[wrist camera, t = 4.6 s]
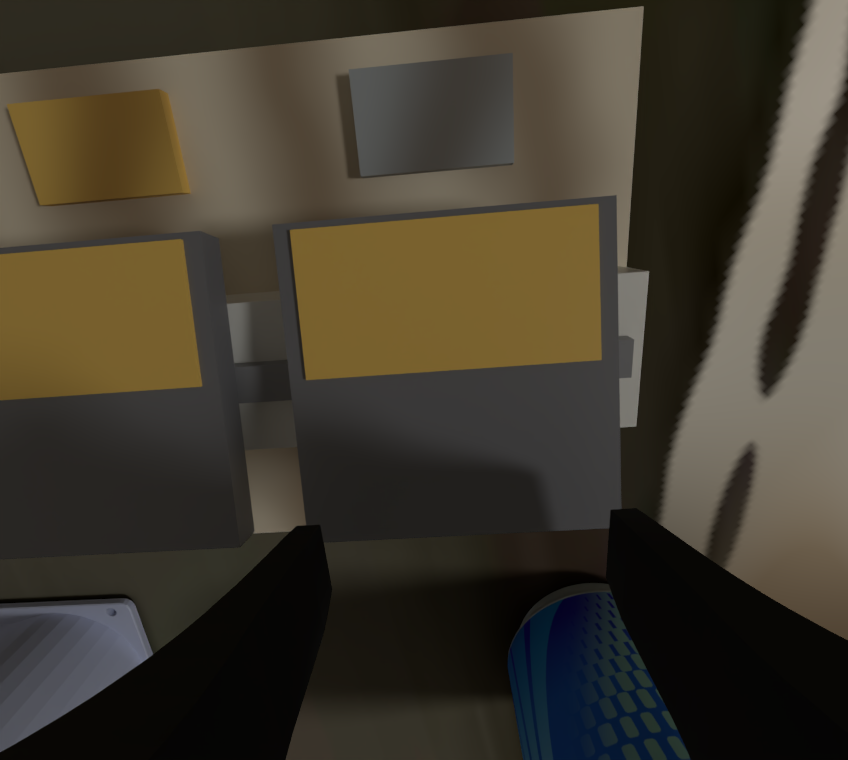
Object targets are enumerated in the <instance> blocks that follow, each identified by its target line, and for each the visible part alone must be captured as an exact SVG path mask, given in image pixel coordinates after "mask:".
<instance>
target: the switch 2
mask: <svg viewBox="0 0 848 760" xmlns="http://www.w3.org/2000/svg"><path fill="white" fill-rule="evenodd" d="M272 229H273V238H274V247H275V256H276V265H277V273H278V282H279V291H280V300H281V309H282V317H283V326H284V335H285V344H286V353H287V361H288V370H289V379H290V388H291V397H292V406H293V414H294V423H295V432H296V441H297V450H298V458H299V467H300V476H301V485H302V494H303V502H304V511H305V520H306V525H320V526H321V532H322V537H323V542H342V541H362V540H382V539H402V538H422V537H442V536H462V535H482V534H502V533H522V532H542V531H561V530H581V529H601V528H609V525H610V510H614V509H621V460H620V393H619V326H618V260H617V195H613V196H601V197H589V198H578V199H566V200H554V201H542V202H531V203H519V204H507V205H496V206H484V207H472V208H460V209H449V210H437V211H425V212H414V213H402V214H390V215H378V216H367V217H355V218H343V219H332V220H320V221H308V222H296V223H285V224H273V225H272Z"/></svg>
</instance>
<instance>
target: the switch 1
mask: <svg viewBox="0 0 848 760" xmlns="http://www.w3.org/2000/svg"><path fill="white" fill-rule="evenodd" d="M254 532H255V530H254V522H253V514H252V506H251V498H250V489H249V481H248V473H247V465H246V457H245V448H244V440H243V432H242V424H241V416H240V408H239V399H238V391H237V383H236V375H235V367H234V358H233V350H232V342H231V334H230V326H229V318H228V309H227V301H226V293H225V285H224V277H223V268H222V260H221V252H220V244H219V238H217V237H214V236H212V235H209V234H207V233H204V232H202V231H192V232H180V233H168V234H157V235H145V236H133V237H122V238H110V239H98V240H86V241H75V242H63V243H51V244H39V245H28V246H16V247H4V248H0V559H16V558H35V557H55V556H75V555H95V554H115V553H135V552H155V551H175V550H195V549H215V548H235V547H241V546H242V545H243V544H244V543H245V541H246V540H247V539H248V538H249V537H250V536H251V535H252V534H253V533H254Z"/></svg>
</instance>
